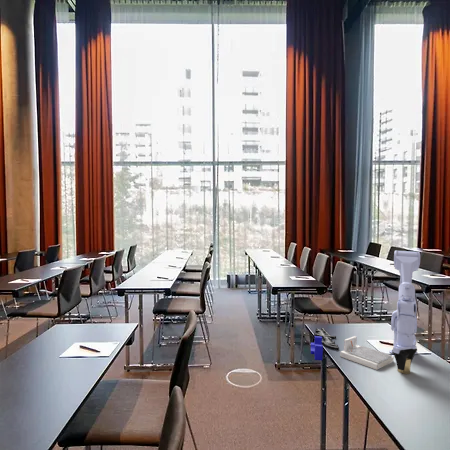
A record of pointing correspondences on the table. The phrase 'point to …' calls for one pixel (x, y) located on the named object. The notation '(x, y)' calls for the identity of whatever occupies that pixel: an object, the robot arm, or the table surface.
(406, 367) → the brass weight
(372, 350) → the pan
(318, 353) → the blue stepped block
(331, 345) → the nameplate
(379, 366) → the scale base
